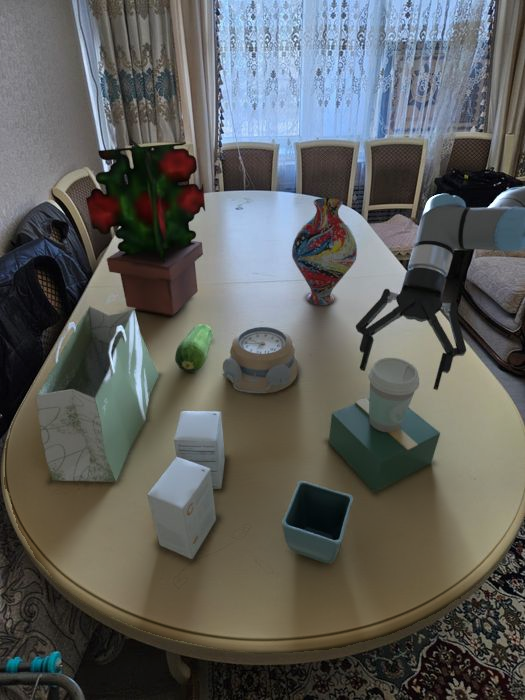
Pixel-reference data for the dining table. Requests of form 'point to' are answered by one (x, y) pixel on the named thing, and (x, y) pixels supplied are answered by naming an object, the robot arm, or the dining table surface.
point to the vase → (324, 250)
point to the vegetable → (194, 348)
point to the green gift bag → (95, 397)
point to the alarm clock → (261, 361)
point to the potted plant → (151, 224)
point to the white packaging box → (202, 442)
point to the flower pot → (316, 521)
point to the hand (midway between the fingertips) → (397, 378)
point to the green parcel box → (381, 445)
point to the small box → (183, 506)
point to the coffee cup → (391, 392)
